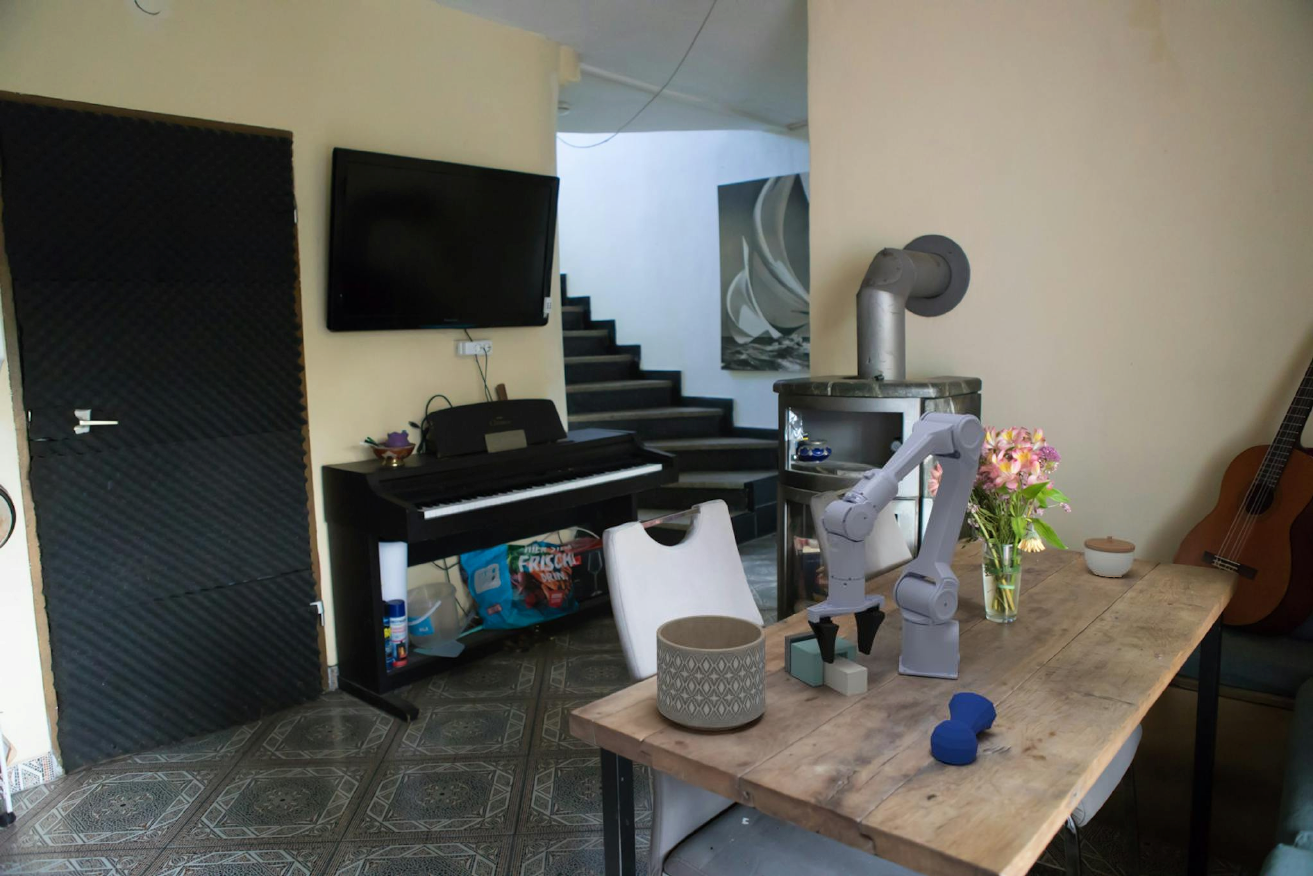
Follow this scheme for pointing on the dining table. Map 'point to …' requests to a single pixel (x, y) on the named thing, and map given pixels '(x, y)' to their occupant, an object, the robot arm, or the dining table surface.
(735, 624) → the planter
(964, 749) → the toy
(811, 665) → the block
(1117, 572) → the lidded jar
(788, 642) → the wall
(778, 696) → the dining table surface
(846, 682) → the peg
